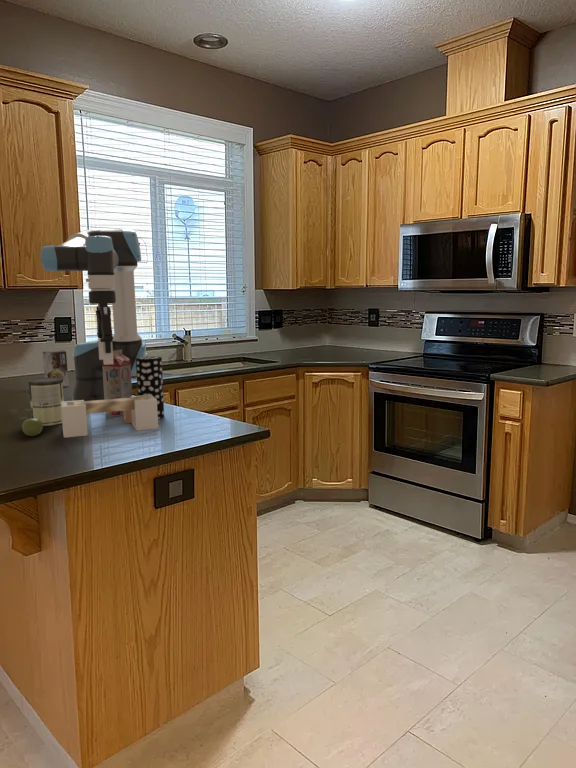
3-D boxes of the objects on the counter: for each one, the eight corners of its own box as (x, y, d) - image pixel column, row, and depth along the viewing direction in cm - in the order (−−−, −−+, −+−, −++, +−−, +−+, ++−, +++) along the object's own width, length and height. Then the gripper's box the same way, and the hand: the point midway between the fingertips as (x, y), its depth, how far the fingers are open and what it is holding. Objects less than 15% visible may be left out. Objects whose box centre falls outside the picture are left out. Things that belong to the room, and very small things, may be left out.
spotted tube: (134, 417, 196) (130, 358, 193) (155, 413, 201) (152, 355, 198) (147, 421, 190) (144, 359, 187) (169, 417, 196) (166, 357, 192)
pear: (20, 419, 168) (24, 418, 178) (21, 437, 168) (25, 435, 178) (41, 417, 170) (44, 416, 179) (42, 435, 170) (45, 433, 179)
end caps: (63, 437, 169) (61, 407, 167) (62, 430, 177) (60, 401, 176) (158, 428, 179) (156, 399, 178) (152, 422, 188) (151, 394, 186)
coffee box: (66, 384, 270) (63, 349, 267) (69, 386, 264) (66, 351, 262) (45, 386, 265) (42, 351, 262) (47, 388, 260) (45, 352, 257)
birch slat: (74, 414, 171) (74, 404, 171) (74, 411, 176) (73, 402, 175) (144, 408, 179) (143, 399, 179) (141, 406, 183) (141, 396, 183)
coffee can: (25, 423, 189) (21, 380, 187) (55, 417, 197) (52, 376, 194) (41, 427, 182) (38, 382, 180) (72, 421, 190) (69, 378, 188)
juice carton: (133, 412, 204) (129, 349, 201) (122, 416, 198) (118, 351, 194) (116, 411, 206) (113, 349, 203) (105, 415, 200) (101, 351, 196)
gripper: (85, 290, 182) (89, 358, 186) (91, 290, 159) (96, 367, 163) (110, 290, 185) (114, 356, 188) (120, 289, 162) (124, 365, 166)
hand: (106, 361), depth 176 cm, fingers open, 13 cm apart
